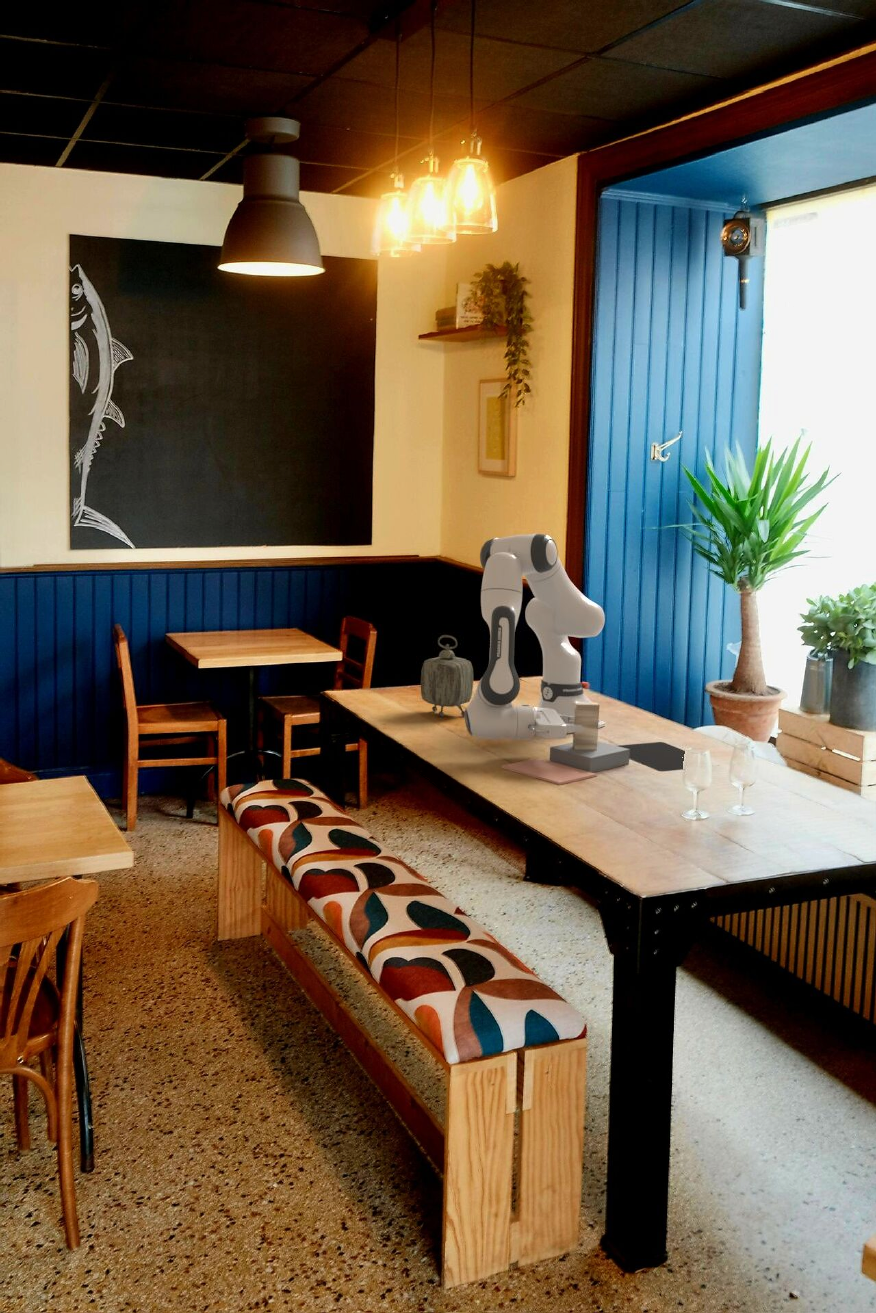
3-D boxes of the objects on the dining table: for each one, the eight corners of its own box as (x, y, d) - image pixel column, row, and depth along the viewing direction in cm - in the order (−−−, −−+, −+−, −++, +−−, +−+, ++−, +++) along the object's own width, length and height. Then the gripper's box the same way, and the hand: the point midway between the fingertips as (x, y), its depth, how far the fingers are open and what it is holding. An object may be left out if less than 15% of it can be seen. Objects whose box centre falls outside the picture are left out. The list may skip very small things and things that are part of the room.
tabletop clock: (472, 716, 378) (475, 636, 374) (456, 721, 371) (459, 639, 367) (432, 709, 386) (435, 631, 382) (416, 714, 379) (419, 634, 374)
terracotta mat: (538, 760, 327) (538, 757, 327) (596, 776, 313) (596, 773, 313) (502, 767, 318) (502, 765, 318) (559, 784, 304) (560, 782, 304)
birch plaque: (572, 746, 327) (574, 702, 325) (594, 746, 327) (597, 702, 325) (574, 749, 324) (576, 704, 322) (597, 749, 324) (599, 705, 322)
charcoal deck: (588, 753, 337) (589, 739, 336) (628, 763, 327) (629, 749, 326) (549, 761, 326) (550, 747, 325) (589, 773, 316) (590, 757, 315)
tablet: (603, 746, 344) (661, 741, 352) (603, 749, 344) (661, 743, 352) (660, 771, 320) (721, 765, 328) (660, 773, 320) (721, 767, 329)
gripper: (532, 720, 313) (585, 720, 314) (521, 703, 333) (572, 704, 334) (531, 744, 314) (584, 744, 315) (520, 725, 334) (571, 726, 335)
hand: (578, 723), depth 325 cm, fingers open, 8 cm apart
